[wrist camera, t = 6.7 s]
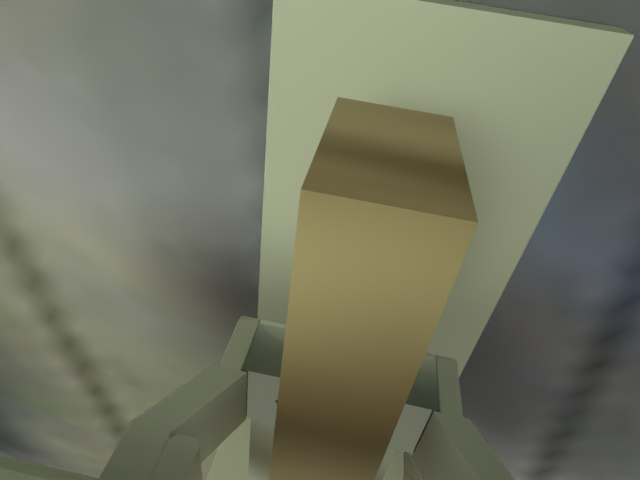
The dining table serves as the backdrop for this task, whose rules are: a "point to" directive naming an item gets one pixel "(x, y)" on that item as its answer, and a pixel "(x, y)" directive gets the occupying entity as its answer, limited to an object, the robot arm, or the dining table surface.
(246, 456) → the tile
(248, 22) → the dining table surface
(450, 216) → the wooden handled scraper
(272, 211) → the tool rest
